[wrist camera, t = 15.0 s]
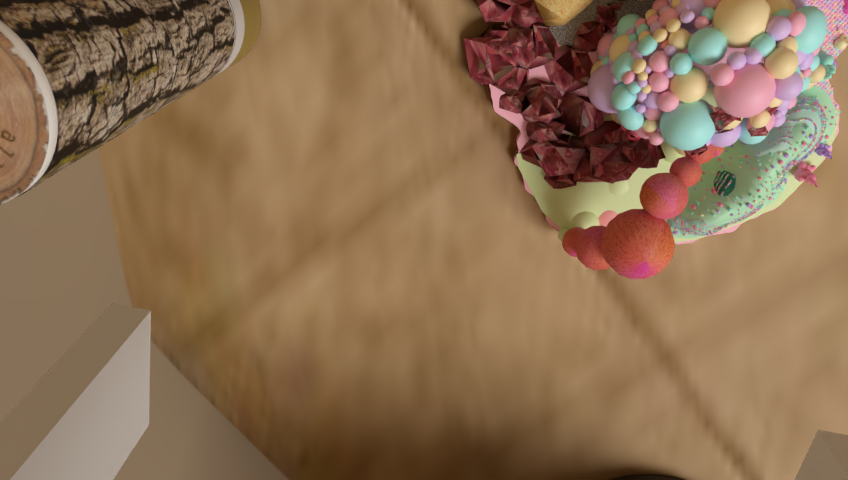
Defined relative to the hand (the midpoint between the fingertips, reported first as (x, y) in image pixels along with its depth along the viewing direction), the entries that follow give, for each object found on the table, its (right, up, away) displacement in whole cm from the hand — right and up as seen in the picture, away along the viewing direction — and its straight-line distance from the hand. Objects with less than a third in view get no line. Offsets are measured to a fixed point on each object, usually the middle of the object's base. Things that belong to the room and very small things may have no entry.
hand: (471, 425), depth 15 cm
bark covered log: (-14, +18, +31) cm, 39 cm away
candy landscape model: (+14, +15, +31) cm, 37 cm away
